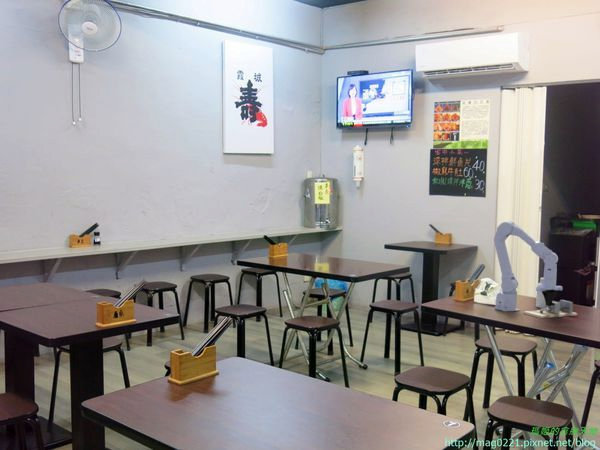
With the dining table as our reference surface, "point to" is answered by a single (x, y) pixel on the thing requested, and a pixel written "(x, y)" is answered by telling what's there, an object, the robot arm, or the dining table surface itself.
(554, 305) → the grey block with hole
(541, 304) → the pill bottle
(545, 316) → the bolt board
